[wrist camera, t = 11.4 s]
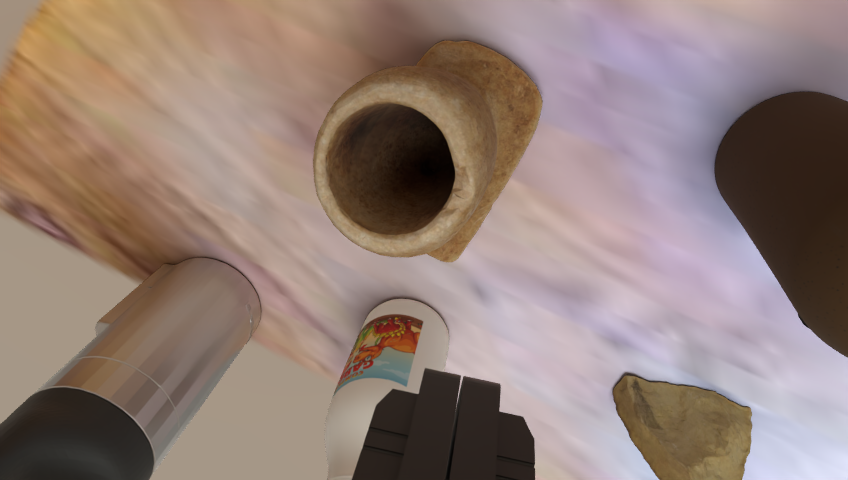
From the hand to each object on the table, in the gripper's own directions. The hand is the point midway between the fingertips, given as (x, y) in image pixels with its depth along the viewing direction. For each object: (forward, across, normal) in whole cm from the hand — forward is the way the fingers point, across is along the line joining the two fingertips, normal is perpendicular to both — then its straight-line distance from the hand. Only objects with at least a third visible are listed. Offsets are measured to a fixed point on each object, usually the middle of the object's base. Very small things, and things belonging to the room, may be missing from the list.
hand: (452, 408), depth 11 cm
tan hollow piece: (+33, +4, +5) cm, 34 cm away
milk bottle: (+33, +4, +23) cm, 41 cm away
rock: (+33, -20, +24) cm, 46 cm away
